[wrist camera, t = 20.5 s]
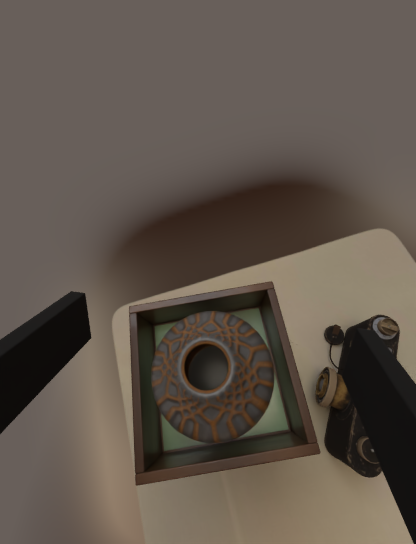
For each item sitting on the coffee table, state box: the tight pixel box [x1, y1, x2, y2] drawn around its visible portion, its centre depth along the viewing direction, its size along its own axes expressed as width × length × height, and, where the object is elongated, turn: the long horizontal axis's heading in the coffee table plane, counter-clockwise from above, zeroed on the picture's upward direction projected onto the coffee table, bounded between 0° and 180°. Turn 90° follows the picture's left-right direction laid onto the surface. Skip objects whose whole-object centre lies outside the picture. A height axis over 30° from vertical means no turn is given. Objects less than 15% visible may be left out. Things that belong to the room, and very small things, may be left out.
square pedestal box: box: [129, 281, 320, 485], centre depth 25 cm, size 10×10×22 cm
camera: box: [316, 315, 400, 478], centre depth 30 cm, size 16×7×8 cm, turn 158°
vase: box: [151, 311, 274, 443], centre depth 14 cm, size 7×7×9 cm
